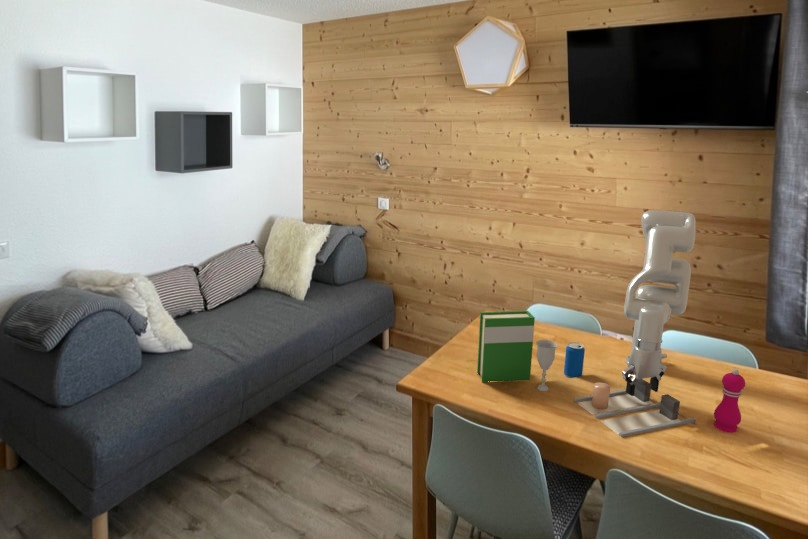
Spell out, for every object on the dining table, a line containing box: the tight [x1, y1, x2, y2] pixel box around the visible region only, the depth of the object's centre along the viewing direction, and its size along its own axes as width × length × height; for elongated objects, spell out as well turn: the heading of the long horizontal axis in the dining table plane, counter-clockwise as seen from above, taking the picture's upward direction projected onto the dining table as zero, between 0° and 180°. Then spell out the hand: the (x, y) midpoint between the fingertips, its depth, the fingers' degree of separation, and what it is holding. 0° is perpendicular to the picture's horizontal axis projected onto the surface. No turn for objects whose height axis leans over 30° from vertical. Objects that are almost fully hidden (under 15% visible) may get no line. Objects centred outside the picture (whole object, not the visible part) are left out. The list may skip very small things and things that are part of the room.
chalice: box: [536, 339, 558, 392], centre depth 189 cm, size 7×7×18 cm
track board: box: [573, 388, 697, 438], centre depth 177 cm, size 28×24×2 cm
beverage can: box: [563, 341, 586, 379], centre depth 202 cm, size 6×6×12 cm
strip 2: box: [600, 393, 681, 436], centre depth 170 cm, size 24×8×7 cm, turn 109°
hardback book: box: [476, 310, 536, 383], centre depth 199 cm, size 18×7×24 cm, turn 97°
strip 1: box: [576, 378, 654, 416], centre depth 181 cm, size 24×8×7 cm, turn 109°
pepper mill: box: [713, 368, 746, 434], centre depth 166 cm, size 7×7×20 cm
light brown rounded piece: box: [591, 381, 611, 410], centre depth 179 cm, size 5×5×7 cm
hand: (641, 392), depth 184 cm, fingers open, 9 cm apart
